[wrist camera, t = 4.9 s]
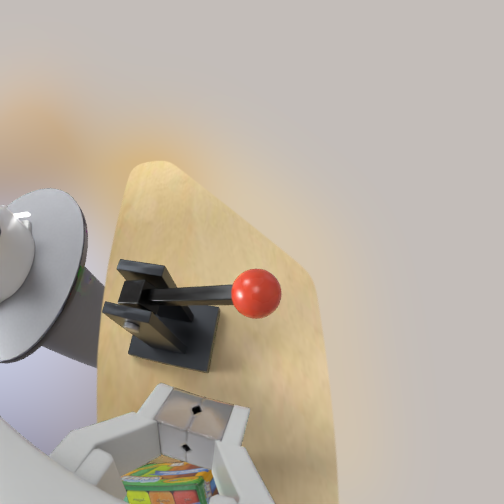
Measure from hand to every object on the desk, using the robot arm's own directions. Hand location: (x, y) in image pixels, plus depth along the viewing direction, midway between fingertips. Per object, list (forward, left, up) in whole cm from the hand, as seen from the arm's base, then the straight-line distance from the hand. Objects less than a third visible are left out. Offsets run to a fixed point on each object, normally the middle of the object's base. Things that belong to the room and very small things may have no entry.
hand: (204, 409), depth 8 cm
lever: (-3, +7, -11) cm, 14 cm away
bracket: (-9, +7, -24) cm, 27 cm away
